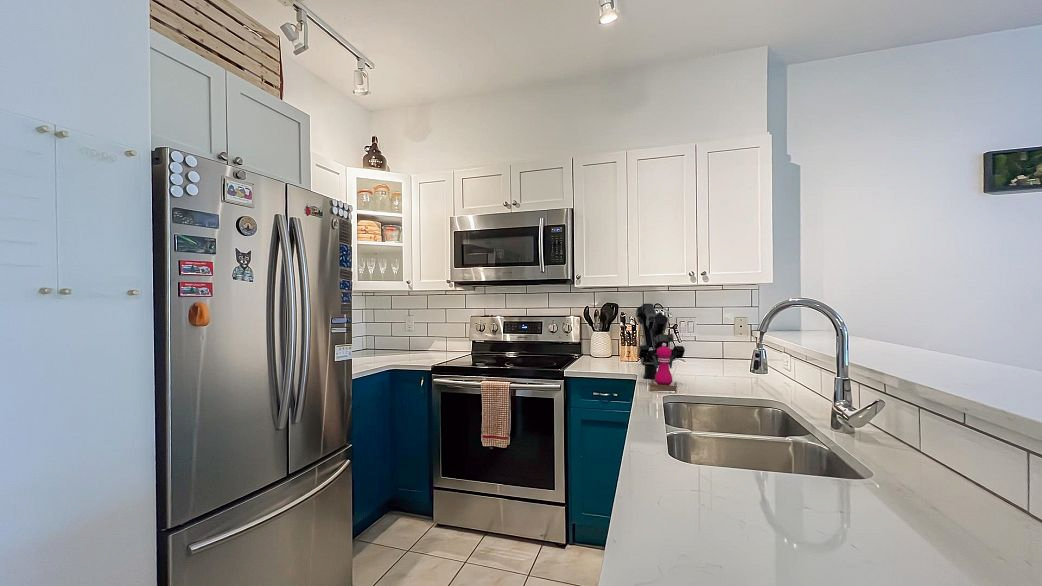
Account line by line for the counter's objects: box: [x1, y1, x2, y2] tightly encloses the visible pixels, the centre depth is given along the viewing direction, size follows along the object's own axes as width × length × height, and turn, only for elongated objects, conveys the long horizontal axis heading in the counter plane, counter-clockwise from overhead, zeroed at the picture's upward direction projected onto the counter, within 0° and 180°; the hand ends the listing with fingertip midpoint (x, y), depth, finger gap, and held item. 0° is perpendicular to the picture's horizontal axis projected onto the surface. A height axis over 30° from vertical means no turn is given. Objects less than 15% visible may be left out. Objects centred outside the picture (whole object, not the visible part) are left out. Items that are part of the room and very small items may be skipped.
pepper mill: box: [654, 343, 673, 386], centre depth 185 cm, size 7×7×20 cm
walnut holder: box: [649, 379, 678, 392], centre depth 185 cm, size 9×10×3 cm
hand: (664, 367), depth 184 cm, fingers closed on pepper mill, 5 cm apart
